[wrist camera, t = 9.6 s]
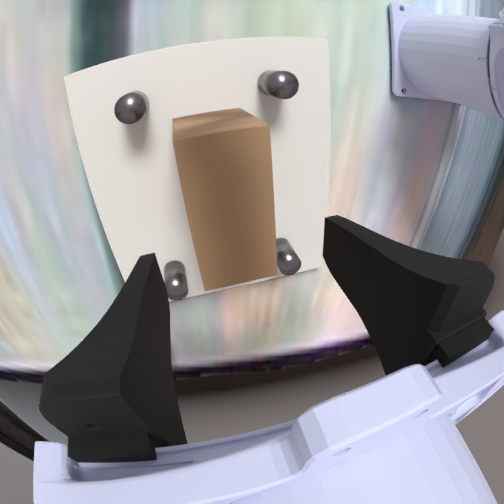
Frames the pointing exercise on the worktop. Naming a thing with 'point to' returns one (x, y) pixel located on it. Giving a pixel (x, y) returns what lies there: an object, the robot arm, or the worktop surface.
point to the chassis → (163, 156)
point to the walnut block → (228, 194)
